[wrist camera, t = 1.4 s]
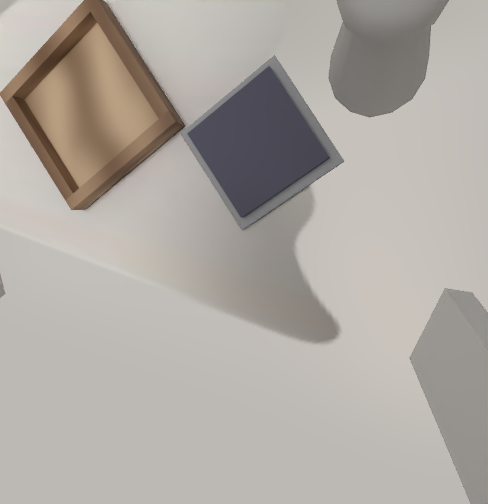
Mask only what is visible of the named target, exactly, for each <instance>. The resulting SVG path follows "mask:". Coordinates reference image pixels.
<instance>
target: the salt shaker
mask: <svg viewBox="0 0 488 504" xmlns="http://www.w3.org/2000/svg"><path fill="white" fill-rule="evenodd" d="M448 1H449V0H337V4H338V7H339V10H340V13H341V16H342V19H343V23H342V26H341V29H340V32H339V35H338V38H337V40H336V44H335V46H334V49H333V52H332V55H331V61H330V70H329V81H330V83H331V87H332V90H333V93H334V96H335V98H336V99H337V100H338V101H339V102H340V103H341V104H342V105H344V106H345V107H346V108H347V109H348V110H349V111H350V112H354V113H357V114H360V115H364V116H367V117H373V116H378V115H382V114H387V113H391V112H393V111H395V110H396V109H398V108H399V107H401V106H402V105H404V104H405V103H407V102H408V101H410V100H411V99H412V98H413V97H414V95H415V94H416V92H417V90H418V89H419V87H420V85H421V84H422V82H423V81H424V79H425V75H426V69H427V63H428V58H429V46H430V30H431V25H432V24H434V23H435V21H436V20H437V18H438V17H439V15H440V14H441V12H442V10H443V9H444V7H445V6H446V4H447V2H448Z"/></svg>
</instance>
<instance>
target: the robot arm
mask: <svg viewBox="0 0 488 504" xmlns="http://www.w3.org/2000/svg"><path fill="white" fill-rule="evenodd" d="M4 294H5V291H4V287H3V284H2V279H1V275H0V298H1V297H2V296H3V295H4ZM410 360H411V363H412V365H413V367H414V370H415V372H416V374H417V377H418V379H419V382H420V384H421V386H422V389H423V391H424V393H425V396H426V398H427V401H428V403H429V406H430V408H431V410H432V413H433V415H434V417H435V420H436V422H437V424H438V427H439V429H440V432H441V434H442V436H443V439H444V441H445V444H446V446H447V448H448V451H449V453H450V455H451V458H452V460H453V463H454V465H455V467H456V470H457V472H458V474H459V477H460V479H461V482H462V484H463V486H464V489H465V491H466V493H467V496H468V498H469V501H470V503H471V504H488V313H487V311H486V310H485V309H484V307H483V306H482V305H481V304H480V302H479V301H478V300H477V298H476V297H475V296H474V295H473V293H471V292H464V291H458V290H452V289H444V291H443V294H442V295H441V297H440V299H439V301H438V303H437V305H436V307H435V309H434V311H433V313H432V315H431V317H430V319H429V321H428V323H427V325H426V327H425V329H424V331H423V333H422V335H421V337H420V339H419V341H418V343H417V345H416V347H415V348H414V350H413V352H412V355H411V357H410Z"/></svg>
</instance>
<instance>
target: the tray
mask: <svg viewBox="0 0 488 504" xmlns="http://www.w3.org/2000/svg"><path fill="white" fill-rule="evenodd" d="M0 96H1V97H2V99H3V101H4V102H5V104H6V105H7V107H8V109H9V110H10V112H11V114H12V115H13V117H14V118H15V120H16V122H17V123H18V125H19V126H20V128H21V130H22V131H23V133H24V134H25V136H26V138H27V139H28V141H29V143H30V144H31V146H32V147H33V149H34V151H35V152H36V154H37V155H38V157H39V159H40V160H41V162H42V163H43V165H44V167H45V168H46V170H47V171H48V173H49V175H50V176H51V178H52V180H53V181H54V183H55V184H56V186H57V188H58V189H59V191H60V192H61V194H62V196H63V197H64V199H65V200H66V202H67V204H68V205H69V207H70V209H71V210H85V209H87V208H88V207H89V206H90V205H91V204H92V203H94V202H95V201H96V200H97V199H98V198H100V197H101V196H102V195H103V194H104V193H106V192H107V191H108V190H109V189H110V188H112V187H113V186H114V185H115V184H116V183H118V182H119V181H120V180H121V179H122V178H124V177H125V176H126V175H127V174H128V173H130V172H131V171H132V170H133V169H134V168H135V167H137V166H138V165H139V164H140V163H141V162H143V161H144V160H145V159H146V158H147V157H149V156H150V155H151V154H152V153H153V152H155V151H156V150H157V149H158V148H159V147H161V146H162V145H163V144H164V143H165V142H167V141H168V140H169V139H170V138H171V137H173V136H174V135H175V134H176V133H177V132H179V131H180V130H181V129H182V128H183V127H184V126H185V125H184V123H183V122H182V120H181V119H180V117H179V116H178V114H177V113H176V111H175V109H174V108H173V106H172V105H171V103H170V102H169V100H168V98H167V97H166V95H165V94H164V92H163V91H162V89H161V88H160V86H159V84H158V83H157V81H156V80H155V78H154V77H153V75H152V73H151V72H150V70H149V69H148V67H147V66H146V64H145V63H144V61H143V59H142V58H141V56H140V55H139V53H138V52H137V50H136V48H135V47H134V45H133V44H132V42H131V41H130V39H129V38H128V36H127V34H126V33H125V31H124V30H123V28H122V27H121V25H120V23H119V22H118V20H117V19H116V17H115V16H114V14H113V13H112V11H111V9H110V8H109V6H108V5H107V3H106V2H105V1H103V0H84V1H83V2H82V3H81V4H80V5H79V7H78V8H77V9H76V10H75V11H74V12H73V13H72V14H71V15H70V16H69V18H68V19H67V20H66V21H65V22H64V23H63V24H62V25H61V26H60V27H59V29H58V30H57V31H56V32H55V33H54V34H53V35H52V36H51V37H50V38H49V40H48V41H47V42H46V43H45V44H44V45H43V46H42V47H41V48H40V50H39V51H38V52H37V53H36V54H35V55H34V56H33V57H32V58H31V59H30V61H29V62H28V63H27V64H26V65H25V66H24V67H23V68H22V69H21V70H20V72H19V73H18V74H17V75H16V76H15V77H14V78H13V79H12V80H11V81H10V83H9V84H8V85H7V86H6V87H5V88H4V89H3V90H2V91H1V92H0Z"/></svg>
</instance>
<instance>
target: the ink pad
mask: <svg viewBox="0 0 488 504" xmlns="http://www.w3.org/2000/svg"><path fill="white" fill-rule="evenodd" d="M181 135H182V137H183V138H184V140H185V142H186V143H187V145H188V146H189V148H190V149H191V151H192V153H193V154H194V156H195V157H196V159H197V160H198V162H199V164H200V165H201V167H202V168H203V170H204V171H205V173H206V174H207V176H208V178H209V179H210V181H211V182H212V184H213V185H214V187H215V189H216V190H217V192H218V193H219V195H220V196H221V198H222V200H223V201H224V203H225V204H226V206H227V207H228V209H229V210H230V212H231V214H232V215H233V217H234V218H235V220H236V221H237V223H238V225H239V226H240V228H241V229H242V230H243V229H245V228H247V227H248V226H250V225H251V224H253V223H254V222H256V221H257V220H258V219H260V218H261V217H263V216H264V215H266V214H267V213H269V212H270V211H272V210H273V209H275V208H276V207H278V206H279V205H281V204H282V203H284V202H285V201H287V200H288V199H290V198H291V197H292V196H294V195H295V194H297V193H298V192H300V191H301V190H303V189H304V188H306V187H307V186H309V185H310V184H312V183H313V182H315V181H316V180H318V179H319V178H321V177H322V176H323V175H325V174H326V173H328V172H329V171H331V170H332V169H334V168H335V167H337V166H338V165H340V164H341V163H343V162H344V160H343V159H342V157H341V156H340V154H339V153H338V151H337V150H336V148H335V146H334V145H333V143H332V142H331V140H330V139H329V137H328V136H327V134H326V133H325V132H324V130H323V128H322V127H321V125H320V124H319V122H318V121H317V119H316V117H315V116H314V114H313V113H312V111H311V110H310V108H309V107H308V105H307V104H306V103H305V101H304V99H303V98H302V96H301V95H300V93H299V92H298V90H297V88H296V87H295V86H294V84H293V82H292V81H291V79H290V78H289V76H288V75H287V73H286V72H285V70H284V69H283V67H282V66H281V64H280V63H279V61H278V60H277V58H276V56H275V55H274V56H273V57H272V58H271V59H270V60H268V61H267V62H266V63H265V64H264V65H262V66H261V67H260V68H259V69H258V70H256V71H255V72H254V73H253V74H252V75H250V76H249V77H248V78H247V79H246V80H244V81H243V82H242V83H241V84H240V85H238V86H237V87H236V88H235V89H234V90H232V91H231V92H230V93H229V94H228V95H226V96H225V97H224V98H223V99H222V100H220V101H219V102H218V103H217V104H216V105H214V106H213V107H212V108H211V109H210V110H208V111H207V112H206V113H205V114H204V115H202V116H201V117H200V118H199V119H198V120H196V121H195V122H194V123H193V124H192V125H190V126H189V127H188V128H187V129H186V130H184V131H183V132H182V133H181Z"/></svg>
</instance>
